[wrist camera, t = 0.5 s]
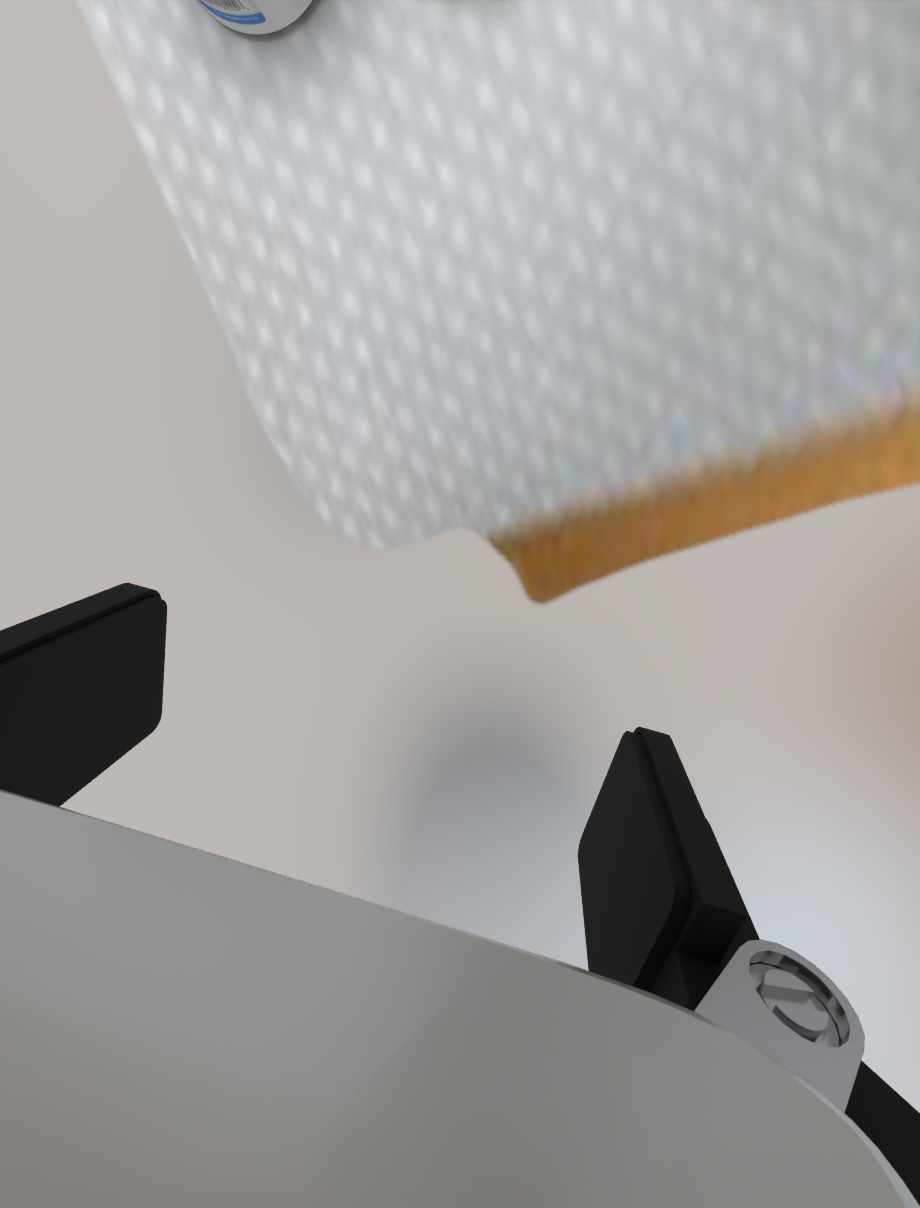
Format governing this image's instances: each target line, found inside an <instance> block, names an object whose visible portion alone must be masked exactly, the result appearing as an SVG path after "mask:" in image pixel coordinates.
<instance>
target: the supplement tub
mask: <svg viewBox="0 0 920 1208" xmlns="http://www.w3.org/2000/svg"><path fill="white" fill-rule="evenodd" d="M197 1H198V2H199V3H200V4H201V5H202V6H203V7H204V8H205V9H206V11H207V12H208V13H210V14H211V15H212V16H213V17H214V18H215V19H216V20H218V21H219V22H221V23H222V24H224V25H225V26H227V27H229V28H231V29H233V30H236V31H239V32H242V33H247V34H256V35H257V34H268V33H272V32H276V31H278V30H281V29H283V28H284V27H286V26H288V25H289V24H291V23H292V22H294V21H295V20H297V19H298V18H299V17H300V16H301V15H302V13H303V12H304V11H305V10H306V9H307V7H308V6H309V5H310V3H311V2H312V0H197Z"/></svg>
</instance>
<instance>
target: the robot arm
mask: <svg viewBox="0 0 920 1208" xmlns="http://www.w3.org/2000/svg"><path fill="white" fill-rule="evenodd" d="M166 622H167V605H166V602H165V601H164V600H161V596H160V594H159V593H158V592H157V591H155V590H152V589H149V588H145V587H141V586H138V585H134V584H130V583H123V584H121V585H118V586H115V587H113V588H110V589H108V590H105V591H102V592H100V593H97V594H95V595H92V596H89V597H87V598H84V599H82V600H79V601H76V602H74V603H71V604H69V605H66V606H64V607H61V608H58V609H56V610H53V611H50V612H48V613H45V614H42V615H40V616H38V617H35V618H32V619H30V620H27V621H24V622H22V623H19V624H16V625H14V626H11V627H9V628H6V629H4V630H1V631H0V1208H920V1113H919V1112H918V1111H917V1110H915V1109H914V1108H913V1107H912V1106H911V1105H910V1104H909V1103H908V1102H907V1101H906V1100H904V1099H903V1098H902V1097H901V1096H900V1095H899V1094H898V1093H897V1092H896V1091H894V1090H893V1089H892V1088H891V1087H890V1086H889V1085H888V1084H887V1083H886V1082H885V1081H883V1080H882V1079H881V1078H880V1077H879V1076H878V1075H877V1074H876V1073H875V1072H873V1071H872V1070H871V1069H870V1068H869V1067H868V1066H867V1065H866V1064H865V1063H864V1062H862V1061H861V1059H862V1056H863V1053H864V1040H865V1039H864V1038H865V1035H864V1032H863V1029H862V1026H861V1023H860V1021H859V1018H858V1016H857V1014H856V1013H855V1011H854V1009H853V1008H852V1006H851V1004H850V1003H849V1001H848V999H847V998H846V997H845V995H844V994H843V993H842V992H841V991H840V990H839V988H838V987H837V986H836V985H835V984H834V983H833V981H832V980H831V979H829V978H828V977H827V976H826V975H825V974H824V973H823V972H822V971H821V970H820V969H818V968H817V967H816V966H815V965H814V964H813V963H811V962H810V961H808V960H806V959H805V958H804V957H802V956H801V955H799V954H798V953H796V952H795V951H793V950H791V949H789V948H786V947H784V946H782V945H780V944H778V943H774V942H770V941H765V940H760V939H759V937H758V934H757V932H756V930H755V928H754V925H753V923H752V921H751V918H750V916H749V914H748V911H747V909H746V907H745V905H744V902H743V900H742V897H741V895H740V893H739V891H738V888H737V886H736V884H735V881H734V879H733V877H732V874H731V872H730V870H729V867H728V865H727V863H726V861H725V858H724V856H723V854H722V851H721V849H720V847H719V844H718V842H717V840H716V838H715V835H714V833H713V831H712V828H711V826H710V824H709V822H708V821H707V819H706V818H705V816H704V814H703V811H702V809H701V807H700V804H699V802H698V800H697V797H696V795H695V793H694V790H693V788H692V786H691V783H690V781H689V779H688V776H687V774H686V772H685V770H684V767H683V765H682V763H681V760H680V758H679V755H678V753H677V751H676V748H675V746H674V744H673V741H672V739H671V737H670V736H669V735H667V734H664V733H660V732H656V731H653V730H649V729H646V728H642V727H638V728H636V729H635V731H634V732H629V731H626V732H625V733H624V734H623V736H622V738H621V741H620V743H619V746H618V748H617V750H616V753H615V755H614V758H613V760H612V763H611V765H610V768H609V770H608V773H607V775H606V778H605V780H604V782H603V785H602V788H601V790H600V793H599V795H598V797H597V800H596V802H595V805H594V807H593V810H592V812H591V815H590V817H589V819H588V822H587V824H586V827H585V829H584V832H583V834H582V837H581V840H580V844H579V849H578V863H579V874H580V884H581V895H582V904H583V916H584V926H585V937H586V947H587V958H588V968H589V971H587V970H584V969H581V968H578V967H575V966H572V965H570V964H567V963H564V962H561V961H558V960H555V959H551V958H548V957H545V956H542V955H539V954H536V953H532V952H529V951H526V950H523V949H520V948H516V947H513V946H510V945H507V944H504V943H500V942H497V941H494V940H491V939H487V938H484V937H481V936H478V935H474V934H471V933H468V932H465V931H462V930H459V929H455V928H452V927H449V926H446V925H443V924H439V923H436V922H433V921H430V920H427V919H423V918H420V917H417V916H414V915H410V914H407V913H404V912H401V911H398V910H395V909H391V908H388V907H385V906H381V905H379V904H375V903H372V902H369V901H366V900H362V899H359V898H356V897H352V896H349V895H346V894H343V893H340V892H336V891H333V890H330V889H327V888H324V887H320V886H317V885H313V884H311V883H307V882H304V881H301V880H298V879H294V878H291V877H288V876H285V875H281V874H278V873H275V872H272V871H268V870H265V869H262V868H258V867H255V866H252V865H249V864H246V863H242V862H239V861H235V860H233V859H229V858H226V857H223V856H219V855H216V854H213V853H210V852H206V851H203V850H199V849H196V848H193V847H190V846H186V845H183V844H180V843H177V842H173V841H170V840H167V839H164V838H160V837H157V836H154V835H150V834H147V833H144V832H141V831H137V830H134V829H131V828H127V827H124V826H121V825H118V824H114V823H111V822H107V821H104V820H101V819H98V818H94V817H91V816H88V815H85V814H81V813H78V812H75V811H71V810H68V809H65V808H61V807H60V806H61V805H62V804H63V803H64V802H66V801H67V800H68V799H70V798H71V797H72V796H73V795H75V794H76V793H77V792H78V791H79V790H81V789H82V788H83V787H85V786H86V785H87V784H88V783H90V782H91V781H92V780H93V779H95V778H96V777H97V776H98V775H99V774H101V773H102V772H103V771H105V770H106V769H107V768H108V767H110V766H111V765H112V764H113V763H115V762H116V761H117V760H118V759H119V758H121V757H122V756H123V755H125V754H126V753H127V752H128V751H129V750H131V749H132V748H133V747H134V746H136V745H137V744H138V743H139V742H141V741H142V740H143V739H145V738H146V737H147V736H148V735H150V734H151V733H152V732H153V731H154V730H155V728H156V727H157V726H158V724H159V722H160V719H161V715H162V700H163V698H162V697H163V681H164V661H165V642H166V640H165V639H166Z"/></svg>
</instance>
